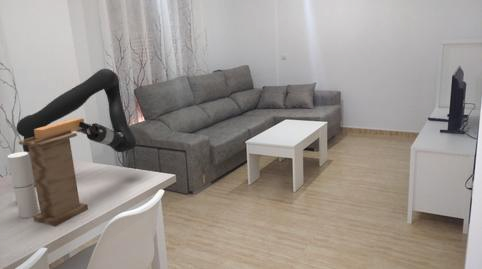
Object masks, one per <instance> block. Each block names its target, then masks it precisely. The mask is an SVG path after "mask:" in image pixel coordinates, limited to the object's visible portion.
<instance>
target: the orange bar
mask: <svg viewBox="0 0 482 269" xmlns="http://www.w3.org/2000/svg"><path fill="white" fill-rule="evenodd" d="M80 122H84V123H85V118H84V117H75V118H70V119H66V121H65V120H63V121H60V122H56V123H53V124H52V123H51V124H48V125H47V126H44V127H41V128H37V129H34V133H35V139H36V140H39V139H42V138H45V137H49V136H52V135H55V134H59V133H62V132H65V131H69V130H71V133H74V132H77V131H76V130H80V129H83V128H81V127H79V123H80Z"/></svg>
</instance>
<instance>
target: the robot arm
mask: <svg viewBox="0 0 482 269" xmlns="http://www.w3.org/2000/svg"><path fill="white" fill-rule="evenodd" d="M103 90H104V92H105V94H106V97H107V101H108V111H109V113H108V114H109V120H110V123H111V126H112V129H110V128H109V127H107V126H104V125H102V124H99V123H96V122H94V123H86V122H85V121H84V122H80V123H79V127H81V128H83V129H80V130H76V131H75V132H76V133H81V134H83V135H86V137H87V139H88V140H90V141H92V142H96V143H98V144H101V145H104V146H108V147H110V148H111V149H113V151H115V152H117V153H123V152H124V153H125V152H127V151H128V152H129V151H130V150H133V149H135V148H136V147H137V140H136V137H135V135H134V134H133V132H132V130H131V128H130V127H129V124H128V120H127V117H126V114H125V113H126V112H125V110H124V106H123V102H122V97H121V89H120V79H119V75H117V73H116V72H115V71H114V70H111V69H109V68H101V69H98V70H97V71H96V72H95V73H93V75H91V76H90V77H89V78H87V79H85V81H83V82H81V83H79V84H77V85H75V86H74V87H73V88H71V89H68V90H67V91H66V92H63V93H62V94H60V95H58V97H55V98H54V99H53V100H51V101H50V102H49V103H48V104H46V105H45V106H44V107H43V108H41V109H40V110H38V111H36V112H35V113H32V114H28V115H26V116H24V117H23V118H21V119H20V120H19V121H18V122H17V125H16V131H17V134H19V135H20V136H21V137H23V140H24V139H28V138H31V137H35V133H34V129H37V128H41V127H44V126H48V125H51V124H52V123H54V122H56V121H58V120H60V119H62V118H64V117H66V116H68V115H70V114H71V113H73V112H75V111H76V110H78V109H80V107H83V105H84V104H85V103H86V102H87V101H88V100H89V98H91V97H92V96H94V95H95V94H97V93H99V92H100V91H103ZM66 120H67V119H66ZM66 120H64V121H66ZM120 133H121V134H122V136H121V134H120ZM22 149H23V152H28V156H29V161H30V166H31V172H32V177H33V183H34V187H36V185H35V180H34V174H33V169H32V163H31V158H30V153H29V147H28V145H22Z"/></svg>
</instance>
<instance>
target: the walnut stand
mask: <svg viewBox="0 0 482 269" xmlns="http://www.w3.org/2000/svg"><path fill="white" fill-rule="evenodd" d="M77 133H78V132H71V130H69V131H65V132H62V133H59V134H55V135H52V136H49V137H45V138H42V139H39V140H36V139H35V137H31V138H28V139H24V138H23V140H20V141H18V145H21V146H23V145H28V147H29V153H30V158H31V163H32V169H33V174H34V180H35V185H36V186H35V189H36V190H35V191H36V197H37V202H38V207H39V213H38V214H36V215H34V216H32V218H33V222H36V223H40V224H45V225H48V226H53V227H57V226H60V225H61V224H64V223H65V222H67V221H68V220H71V219H72V218H74V217H76V216H79V214H82V213H83V212H84V213H85V212H86V211H87V210H89V204H86V203H81V202H80V197H79V191H78V189H79V188H78V184H77V178H76V172H75V165H74V159H73V152H72V146H71V140H70V139H72V138H75V137H77V136H78V134H77Z"/></svg>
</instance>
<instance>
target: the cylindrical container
mask: <svg viewBox="0 0 482 269" xmlns="http://www.w3.org/2000/svg"><path fill="white" fill-rule="evenodd" d="M7 162H8V165H9V166H8V167H9V171H10V176H11V181H12V187H13V190H14V191H13V192H14V196H15V201H16V206H17V207H16V208H17V211H18V214H19V215H18V216H19V217H20V218H23V219H24V218H29V217H30V218H31V217H33V216H35V215H37V214H39V213H40V208H39V203H38V197H37V192H36V190H35V189H36V187H35V186H34V183H33V177H32V172H31V166H30V161H29V156H28V152H24V151H20V152H19V151H18V152H14V153H10V154H8V155H7Z"/></svg>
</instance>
